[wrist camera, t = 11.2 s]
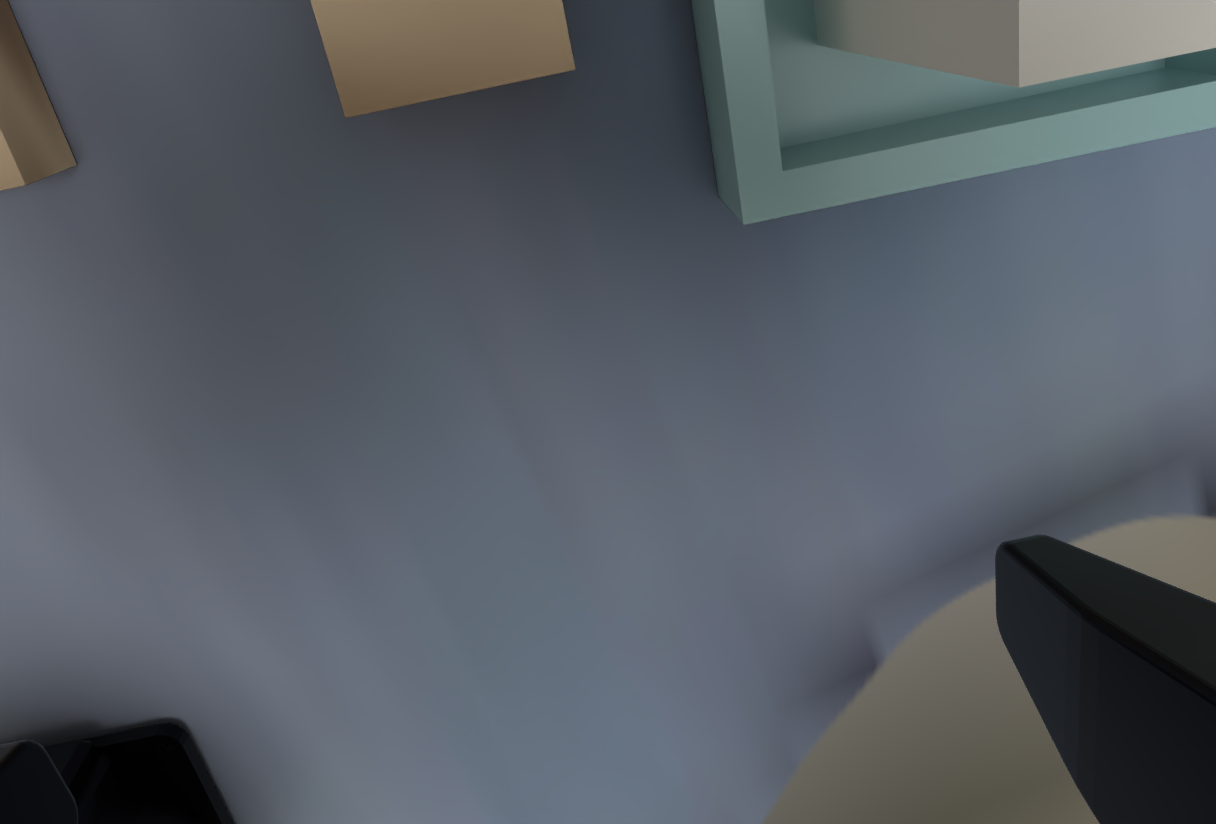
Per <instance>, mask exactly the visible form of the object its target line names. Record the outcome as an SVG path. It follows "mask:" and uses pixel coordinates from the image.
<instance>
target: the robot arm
mask: <svg viewBox="0 0 1216 824" xmlns="http://www.w3.org/2000/svg"><path fill="white" fill-rule="evenodd" d="M995 575H996V616H997V623H998V627H999V631H1000V634H1001V636H1002V639H1003V641H1004V644H1005V646H1006V648H1007V650H1008V651H1009V654H1010V656H1011V658H1012V660H1013V662H1014V664H1015V665H1016V668H1017V669H1018V672H1019V674H1020V676H1021V678H1022V680H1023V682H1024V683H1025V686H1026V688H1027V690H1028V691H1029V693H1030V696H1031V698H1032V699H1033V702H1034V704H1035V706H1036V707H1037V710H1038V711H1039V714H1040V716H1041V718H1042V720H1043V722H1044V724H1045V725H1046V728H1047V730H1048V732H1049V734H1050V736H1051V738H1052V740H1053V741H1054V743H1055V746H1056V748H1057V750H1058V752H1059V753H1060V756H1061V757H1062V759H1063V762H1064V763H1065V765H1066V767H1067V769H1068V771H1069V772H1070V775H1071V777H1072V779H1073V780H1074V782H1075V784H1076V786H1077V788H1078V789H1079V791H1080V793H1081V794H1082V796H1083V798H1084V799H1085V801H1086V803H1087V804H1088V806H1089V807H1090V809H1091V811H1092V812H1093V814H1094V815H1095V817H1096V819H1097V820H1098V822H1099V823H1100V824H1216V603H1215V602H1212V601H1210V600H1207V599H1204V598H1202V597H1200V596H1197V595H1195V594H1192V593H1190V592H1187V591H1184V590H1182V589H1180V588H1177V587H1175V586H1172V585H1170V584H1167V583H1165V582H1162V581H1160V580H1157V579H1155V578H1152V577H1150V576H1147V575H1145V574H1142V573H1140V572H1137V571H1135V570H1132V569H1130V568H1127V567H1125V566H1122V565H1120V564H1117V563H1115V562H1112V561H1110V560H1107V559H1105V558H1102V557H1099V556H1097V555H1095V554H1092V553H1090V552H1087V551H1085V550H1082V549H1080V548H1077V547H1075V546H1072V545H1070V544H1067V543H1065V542H1062V541H1060V540H1057V539H1055V538H1052V537H1050V536H1047V535H1034V536H1029V537H1024V538H1019V539H1014V540H1009V541H1005V542H1002V543H1001V545H1000V546H999V547H998V548H997V551H996V555H995ZM161 743H166V744H169V745H171V746H172V747H167V746H164V745H162V744H161ZM0 824H233V823H232V821H231V819H230V817H229V815H228V813H227V811H226V809H225V807H224V805H223V803H222V801H221V799H220V797H219V795H218V793H217V791H216V789H215V787H214V785H213V783H212V781H211V779H210V777H209V775H208V773H207V771H206V769H205V767H204V765H203V763H202V761H201V759H200V757H199V755H198V753H197V751H196V749H195V747H194V745H193V743H192V741H191V739H190V737H189V735H188V734H187V732H186V731H185V730H184V729H183V728H181V727H179V726H178V725H174V724H170V723H167V724H158V725H153V726H148V727H143V728H138V729H133V730H128V731H123V732H118V733H113V734H108V735H103V736H98V737H93V738H89V739H84V740H77V741H72V742H67V743H62V744H57V745H52V746H47V747H43V746H42V745H40V744H39V743H38V742H36V741H33V740H21V741H16V742H11V743H6V744H1V745H0Z"/></svg>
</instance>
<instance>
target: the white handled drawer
mask: <svg viewBox="0 0 1216 824" xmlns="http://www.w3.org/2000/svg"><path fill="white" fill-rule="evenodd" d="M814 10H815V22H816V34H817V45H818V46H823V47H828V48H833V49H837V50H842V51H847V52H852V53H857V54H861V55H866V56H871V57H876V58H880V59H885V60H890V61H895V62H899V63H904V64H909V65H914V66H918V67H923V68H928V69H933V70H938V71H942V72H947V73H952V74H957V75H961V76H966V77H971V78H976V79H980V80H985V81H990V82H995V83H999V84H1004V85H1009V86H1014V87H1019V88H1020V87H1025V86H1030V85H1035V84H1039V83H1044V82H1049V81H1054V80H1059V79H1064V78H1069V77H1074V76H1079V75H1084V74H1089V73H1094V72H1098V71H1103V70H1108V69H1113V68H1118V67H1123V66H1128V65H1133V64H1138V63H1143V62H1148V61H1153V60H1158V59H1162V58H1167V57H1172V56H1177V55H1182V54H1187V53H1192V52H1197V51H1202V50H1207V49H1212V48H1216V0H814Z"/></svg>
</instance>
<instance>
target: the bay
mask: <svg viewBox="0 0 1216 824" xmlns="http://www.w3.org/2000/svg"><path fill="white" fill-rule="evenodd" d="M310 1H311V4H312V7H313V11H314V14H315V17H316V21H317V24H318V28H319V31H320V34H321V38H322V41H323V44H324V48H325V51H326V54H327V58H328V61H329V64H330V68H331V71H332V74H333V78H334V81H335V85H336V88H337V91H338V95H339V98H340V101H341V105H342V108H343V111H344V115H345V118H348V117H353V116H357V115H362V114H367V113H372V112H376V111H381V110H386V109H391V108H395V107H400V106H405V105H410V104H414V103H419V102H424V101H429V100H433V99H438V98H443V97H448V96H452V95H457V94H462V93H467V92H471V91H476V90H481V89H486V88H490V87H495V86H500V85H505V84H509V83H514V82H519V81H524V80H528V79H533V78H538V77H543V76H548V75H552V74H557V73H562V72H567V71H571V70H575V64H574V59H573V54H572V49H571V44H570V39H569V34H568V28H567V23H566V18H565V13H564V8H563V3H562V0H310ZM76 165H77V164H76V161H75V159H74V157H73V154H72V152H71V150H70V147H69V145H68V143H67V140H66V138H65V135H64V133H63V131H62V128H61V126H60V124H59V121H58V119H57V117H56V114H55V112H54V110H53V107H52V105H51V102H50V100H49V98H48V95H47V93H46V91H45V88H44V86H43V84H42V81H41V79H40V76H39V74H38V72H37V69H36V67H35V65H34V62H33V60H32V58H31V55H30V53H29V50H28V48H27V46H26V43H25V41H24V39H23V36H22V34H21V32H20V29H19V27H18V24H17V22H16V20H15V17H14V15H13V13H12V10H11V8H10V6H9V3H8V1H7V0H0V191H1V190H5V189H10V188H15V187H20V186H24V185H28V184H30V183H33V182H35V181H38V180H40V179H43V178H45V177H48V176H50V175H53V174H55V173H58V172H60V171H63V170H66V169H68V168H71V167H73V166H76Z"/></svg>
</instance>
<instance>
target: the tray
mask: <svg viewBox="0 0 1216 824" xmlns="http://www.w3.org/2000/svg"><path fill="white" fill-rule="evenodd" d="M691 6H692V13H693V20H694V27H695V34H696V41H697V48H698V55H699V63H700V70H701V77H702V84H703V91H704V98H705V105H706V112H707V119H708V126H709V133H710V140H711V147H712V154H713V162H714V169H715V176H716V183H717V190H718V197H719V198H720V199H721V200H722V201H723V202H724V203H725V205H726V206H727V207H728V208H729V209H730V210H731V211H732V212H733V214H734V215H735V216H736V217H737V218H738V219H739V220H740V222H741V223H742V224H743V225H746V224H751V223H756V222H761V221H766V220H770V219H775V218H780V217H785V216H790V215H795V214H799V213H804V212H809V211H814V210H819V209H823V208H828V207H833V206H838V205H843V204H847V203H852V202H857V201H862V200H867V199H872V198H876V197H881V196H886V195H891V194H896V193H900V192H905V191H910V190H915V189H920V188H924V187H929V186H934V185H939V184H944V183H949V182H953V181H958V180H963V179H968V178H973V177H977V176H982V175H987V174H992V173H997V172H1001V171H1006V170H1011V169H1016V168H1021V167H1026V166H1030V165H1035V164H1040V163H1045V162H1050V161H1054V160H1059V159H1064V158H1069V157H1074V156H1078V155H1083V154H1088V153H1093V152H1098V151H1103V150H1107V149H1112V148H1117V147H1122V146H1127V145H1131V144H1136V143H1141V142H1146V141H1151V140H1155V139H1160V138H1165V137H1170V136H1175V135H1179V134H1184V133H1189V132H1194V131H1199V130H1204V129H1208V128H1213V127H1216V48H1212V49H1207V50H1202V51H1197V52H1192V53H1187V54H1182V55H1177V56H1172V57H1167V58H1162V59H1158V60H1153V61H1148V62H1143V63H1138V64H1133V65H1128V66H1123V67H1118V68H1113V69H1108V70H1103V71H1098V72H1094V73H1089V74H1084V75H1079V76H1074V77H1069V78H1064V79H1059V80H1054V81H1049V82H1044V83H1039V84H1035V85H1030V86H1025V87H1020V88H1019V87H1014V86H1009V85H1004V84H999V83H995V82H990V81H985V80H980V79H976V78H971V77H966V76H961V75H957V74H952V73H947V72H942V71H938V70H933V69H928V68H923V67H918V66H914V65H909V64H904V63H899V62H895V61H890V60H885V59H880V58H876V57H871V56H866V55H861V54H857V53H852V52H847V51H842V50H837V49H833V48H828V47H823V46H818V45H817V34H816V22H815V10H814V0H691Z"/></svg>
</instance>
